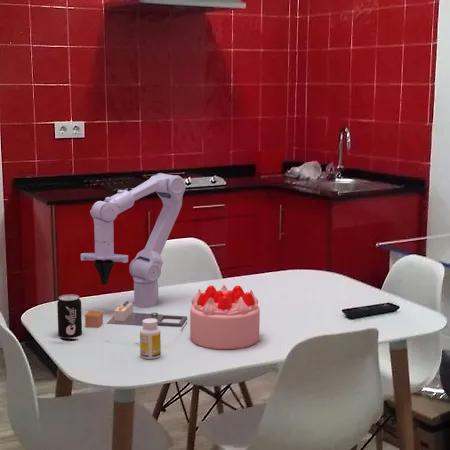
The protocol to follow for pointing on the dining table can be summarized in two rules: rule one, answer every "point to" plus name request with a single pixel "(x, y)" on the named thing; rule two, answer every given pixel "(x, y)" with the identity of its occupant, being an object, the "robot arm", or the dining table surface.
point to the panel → (135, 319)
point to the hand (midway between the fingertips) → (104, 284)
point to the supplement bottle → (150, 339)
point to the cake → (224, 318)
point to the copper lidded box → (94, 319)
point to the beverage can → (69, 317)
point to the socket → (180, 324)
